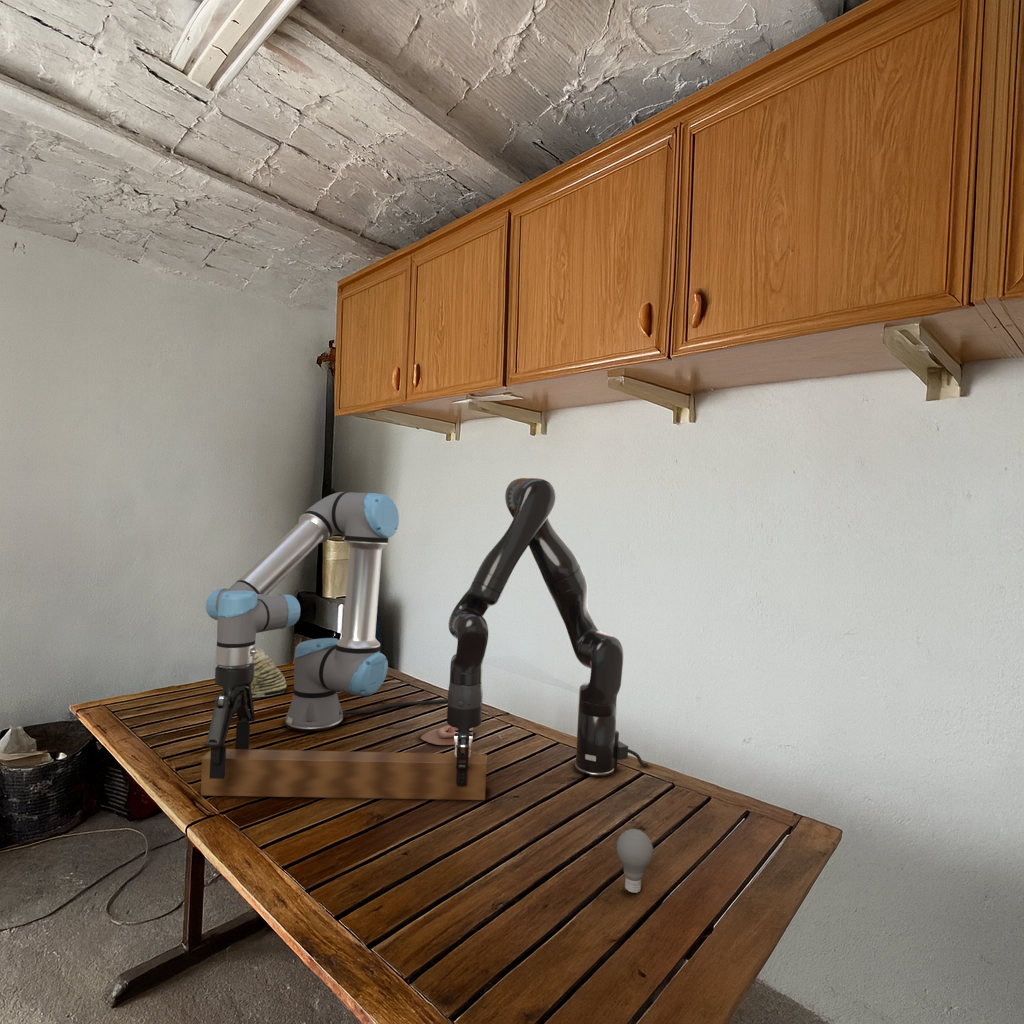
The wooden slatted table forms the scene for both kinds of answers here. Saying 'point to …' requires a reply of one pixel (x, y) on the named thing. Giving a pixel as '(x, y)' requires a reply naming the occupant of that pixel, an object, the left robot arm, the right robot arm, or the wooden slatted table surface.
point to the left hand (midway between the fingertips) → (230, 764)
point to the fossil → (266, 676)
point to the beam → (344, 775)
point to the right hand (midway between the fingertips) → (461, 779)
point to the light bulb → (634, 857)
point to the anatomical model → (441, 735)
